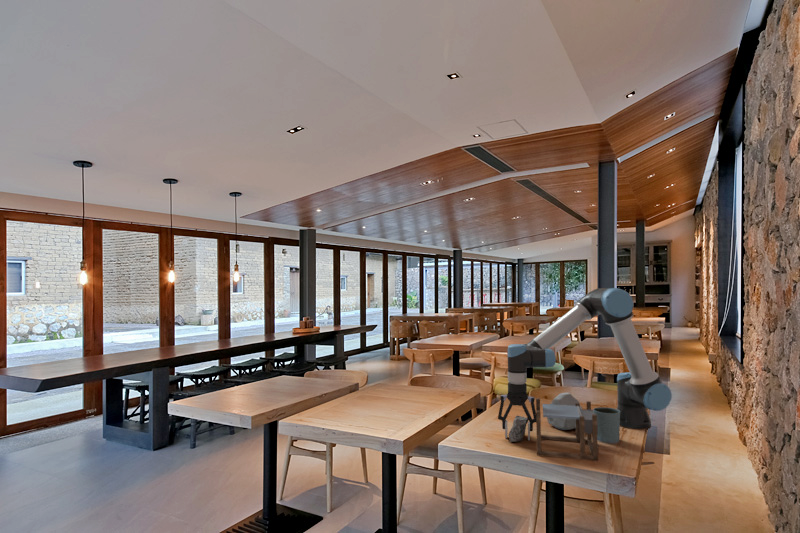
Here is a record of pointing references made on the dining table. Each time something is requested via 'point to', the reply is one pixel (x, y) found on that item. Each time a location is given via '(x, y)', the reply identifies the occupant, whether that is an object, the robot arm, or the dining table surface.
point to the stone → (562, 422)
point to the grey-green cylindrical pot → (608, 424)
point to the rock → (518, 429)
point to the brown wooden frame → (579, 437)
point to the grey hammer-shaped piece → (570, 414)
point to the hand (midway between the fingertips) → (517, 438)
